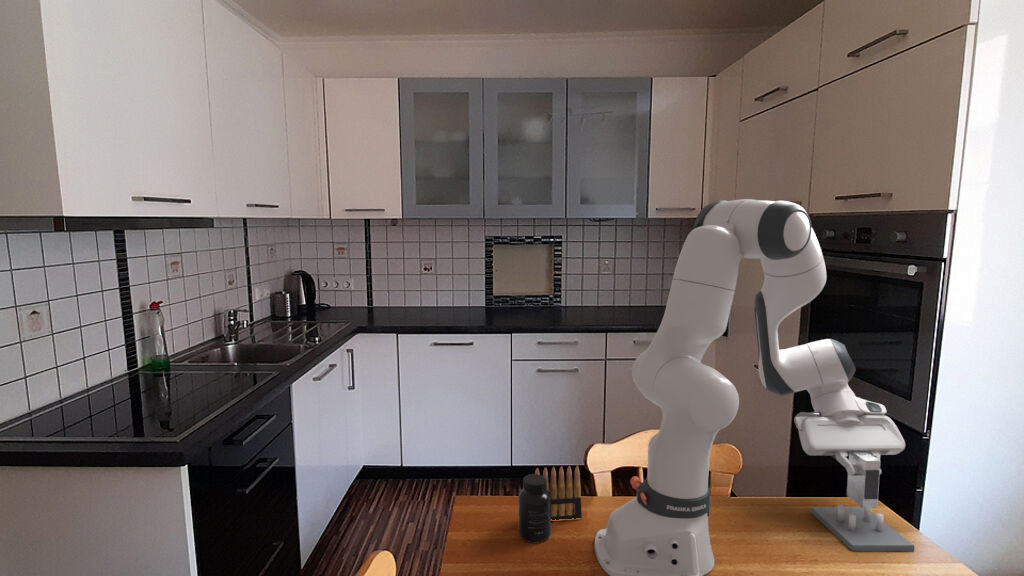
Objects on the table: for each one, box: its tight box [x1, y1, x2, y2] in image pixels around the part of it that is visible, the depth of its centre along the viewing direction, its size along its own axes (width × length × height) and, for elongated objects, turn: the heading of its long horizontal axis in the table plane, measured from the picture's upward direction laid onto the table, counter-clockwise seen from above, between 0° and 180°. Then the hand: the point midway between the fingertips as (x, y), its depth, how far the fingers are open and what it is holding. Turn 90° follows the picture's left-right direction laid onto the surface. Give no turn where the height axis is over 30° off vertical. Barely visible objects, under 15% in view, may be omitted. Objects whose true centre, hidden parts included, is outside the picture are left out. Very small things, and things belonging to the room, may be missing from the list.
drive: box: [846, 450, 881, 509], centre depth 106 cm, size 3×5×10 cm, turn 0°
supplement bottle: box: [517, 473, 552, 543], centre depth 105 cm, size 7×7×12 cm
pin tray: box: [810, 503, 915, 552], centre depth 107 cm, size 12×14×4 cm
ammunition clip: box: [534, 465, 583, 520], centre depth 111 cm, size 11×2×12 cm, turn 98°
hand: (865, 474), depth 105 cm, fingers closed on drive, 3 cm apart
